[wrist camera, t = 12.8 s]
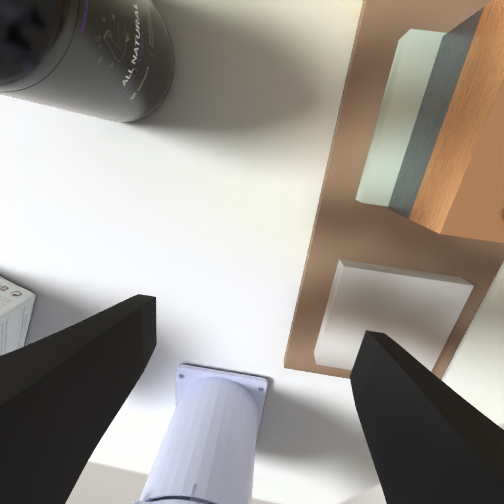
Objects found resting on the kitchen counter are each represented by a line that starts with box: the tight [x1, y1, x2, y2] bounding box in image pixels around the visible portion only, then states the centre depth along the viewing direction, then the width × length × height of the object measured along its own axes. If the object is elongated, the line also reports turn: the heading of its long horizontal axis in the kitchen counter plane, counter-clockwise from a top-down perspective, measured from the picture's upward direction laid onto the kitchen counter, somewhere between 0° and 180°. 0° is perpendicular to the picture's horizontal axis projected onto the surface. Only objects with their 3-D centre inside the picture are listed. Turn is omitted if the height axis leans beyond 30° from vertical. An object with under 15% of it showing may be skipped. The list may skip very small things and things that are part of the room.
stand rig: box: [284, 0, 504, 380], centre depth 16 cm, size 24×12×2 cm, turn 173°
